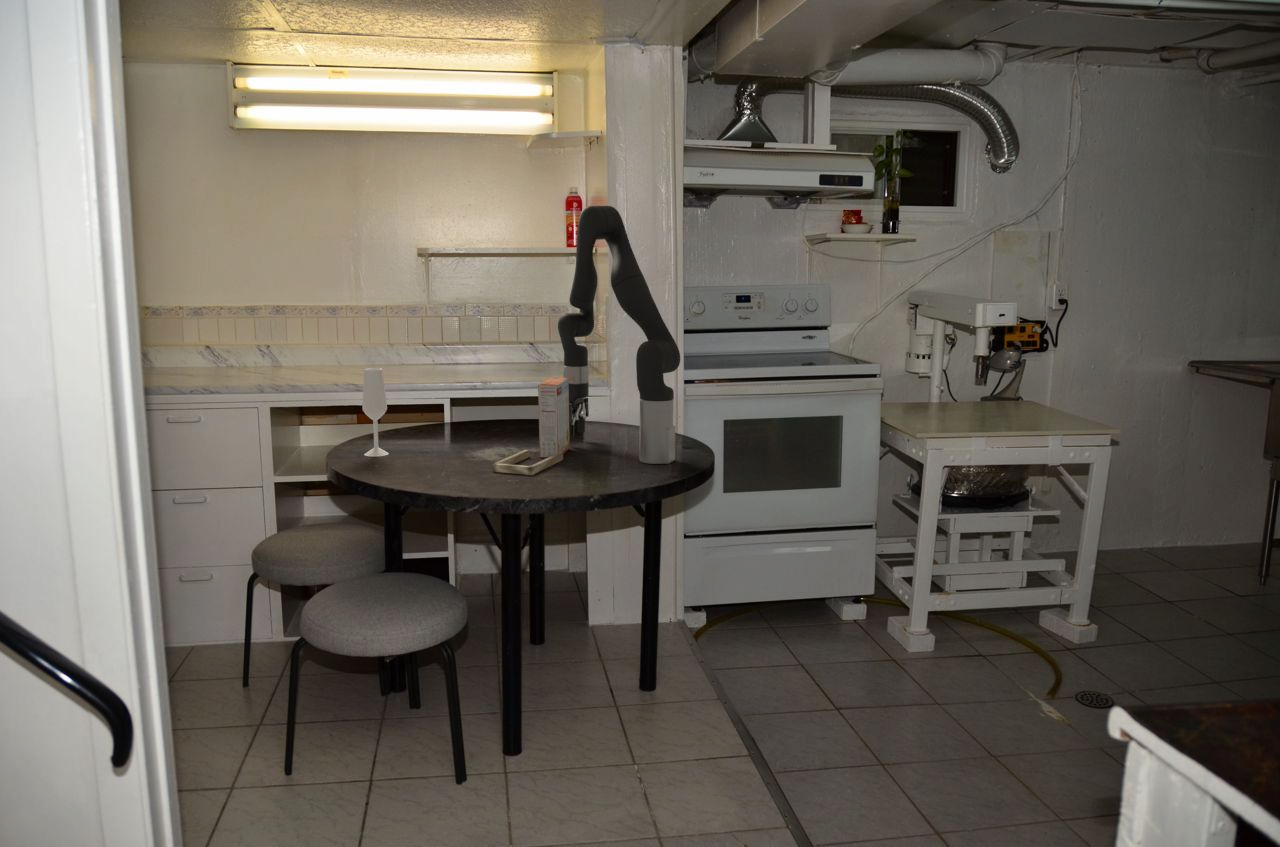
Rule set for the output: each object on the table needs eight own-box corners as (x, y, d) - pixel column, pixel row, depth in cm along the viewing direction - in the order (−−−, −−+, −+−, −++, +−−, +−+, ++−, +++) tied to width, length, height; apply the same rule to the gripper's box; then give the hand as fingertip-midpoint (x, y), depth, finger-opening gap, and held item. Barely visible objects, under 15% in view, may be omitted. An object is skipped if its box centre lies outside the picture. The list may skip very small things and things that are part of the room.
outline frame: (563, 459, 271) (563, 452, 270) (532, 475, 252) (532, 467, 252) (525, 456, 274) (525, 449, 274) (492, 471, 256) (492, 463, 255)
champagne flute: (382, 457, 272) (379, 370, 268) (359, 455, 273) (356, 370, 269) (393, 452, 279) (390, 368, 274) (371, 451, 280) (367, 367, 276)
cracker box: (549, 448, 286) (549, 377, 283) (570, 449, 285) (569, 377, 282) (537, 458, 273) (537, 383, 269) (559, 459, 272) (558, 384, 268)
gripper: (578, 384, 283) (578, 439, 286) (596, 378, 296) (596, 431, 299) (554, 383, 285) (554, 438, 288) (573, 377, 298) (573, 429, 301)
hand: (575, 434), depth 293 cm, fingers open, 8 cm apart
